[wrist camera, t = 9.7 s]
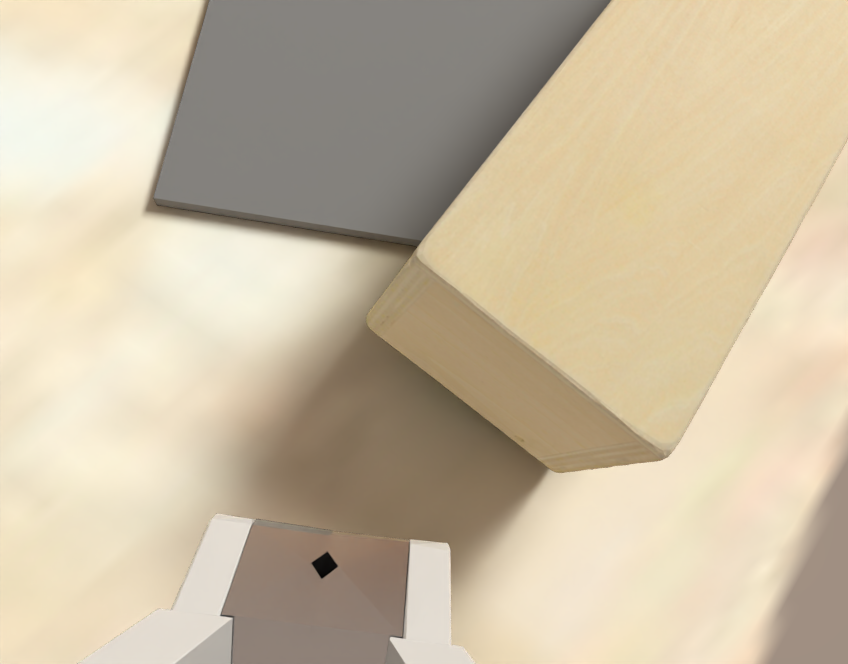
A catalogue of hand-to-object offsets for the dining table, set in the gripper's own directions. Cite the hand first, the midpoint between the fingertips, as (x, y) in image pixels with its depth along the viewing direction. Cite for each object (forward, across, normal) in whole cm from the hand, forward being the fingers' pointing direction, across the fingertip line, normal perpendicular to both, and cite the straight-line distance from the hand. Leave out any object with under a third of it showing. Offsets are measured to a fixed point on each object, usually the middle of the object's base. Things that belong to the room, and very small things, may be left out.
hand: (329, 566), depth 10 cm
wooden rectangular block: (+11, -3, +3) cm, 11 cm away
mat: (+28, 0, -8) cm, 29 cm away
